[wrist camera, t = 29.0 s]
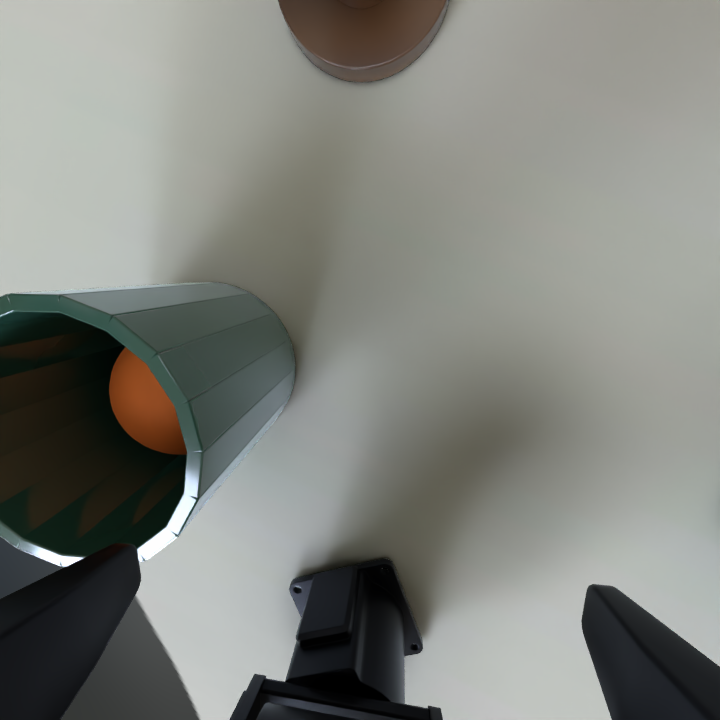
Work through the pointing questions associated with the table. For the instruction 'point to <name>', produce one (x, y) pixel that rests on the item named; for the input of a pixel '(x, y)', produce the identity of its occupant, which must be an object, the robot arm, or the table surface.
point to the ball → (144, 406)
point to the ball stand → (363, 34)
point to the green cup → (99, 424)
